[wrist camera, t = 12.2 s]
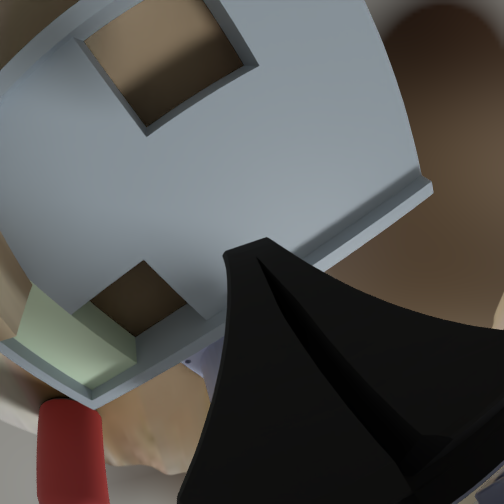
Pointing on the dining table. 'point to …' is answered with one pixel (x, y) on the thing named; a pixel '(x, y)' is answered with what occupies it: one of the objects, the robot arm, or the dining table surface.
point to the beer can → (70, 454)
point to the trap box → (190, 178)
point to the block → (11, 291)
